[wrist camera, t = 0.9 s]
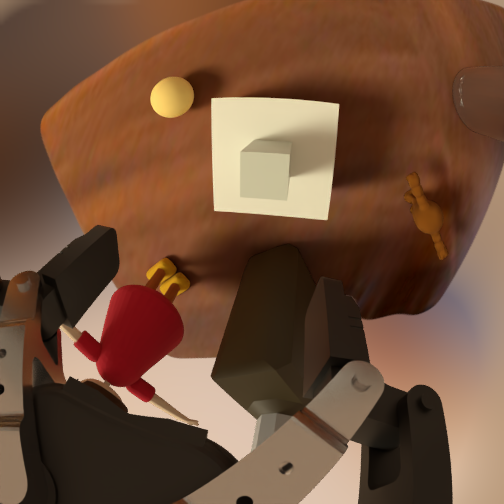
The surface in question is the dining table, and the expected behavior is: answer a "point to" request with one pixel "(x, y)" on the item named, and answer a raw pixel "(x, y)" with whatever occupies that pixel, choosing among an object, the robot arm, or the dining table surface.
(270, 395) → the bottle
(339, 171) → the dining table surface
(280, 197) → the cover
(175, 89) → the ball
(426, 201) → the toy figurine
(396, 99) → the dining table surface
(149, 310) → the toy
